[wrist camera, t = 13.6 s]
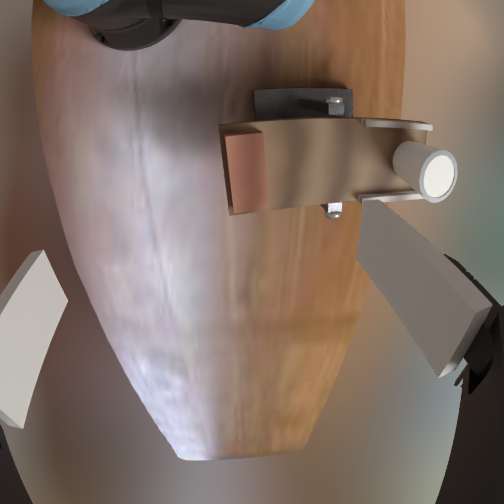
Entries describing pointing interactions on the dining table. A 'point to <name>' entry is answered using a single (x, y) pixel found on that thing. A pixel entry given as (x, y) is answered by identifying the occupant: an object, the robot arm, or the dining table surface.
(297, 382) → the dining table surface
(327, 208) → the stand
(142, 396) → the dining table surface
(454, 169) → the shot glass
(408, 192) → the beam
